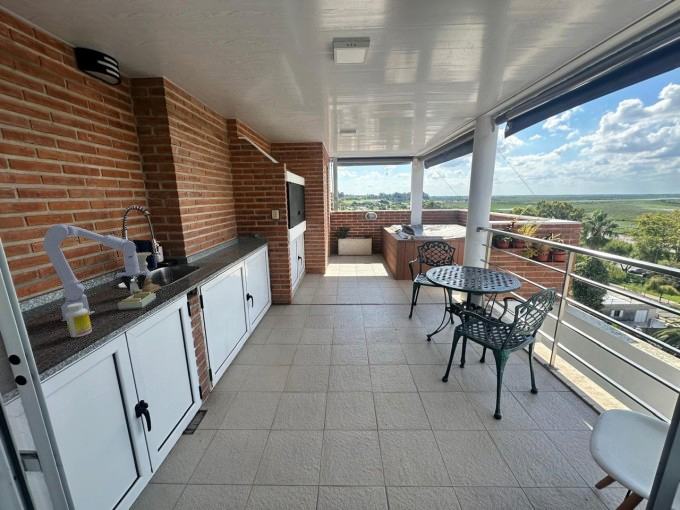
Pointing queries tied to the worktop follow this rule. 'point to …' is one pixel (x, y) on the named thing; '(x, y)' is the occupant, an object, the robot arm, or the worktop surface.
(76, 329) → the supplement bottle
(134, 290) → the spout can
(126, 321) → the worktop surface
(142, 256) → the candle holder
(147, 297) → the pale green tray
